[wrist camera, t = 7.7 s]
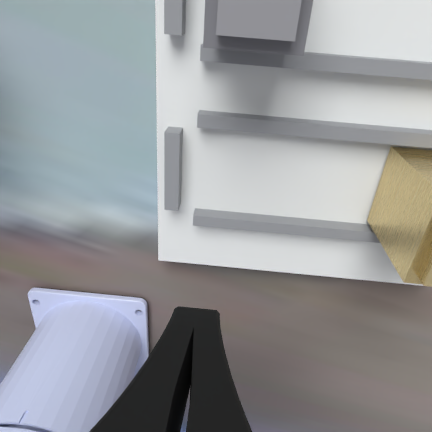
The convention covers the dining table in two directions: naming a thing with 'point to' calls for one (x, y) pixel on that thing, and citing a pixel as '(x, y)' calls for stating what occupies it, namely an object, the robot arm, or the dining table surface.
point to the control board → (288, 137)
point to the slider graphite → (257, 25)
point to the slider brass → (406, 213)
